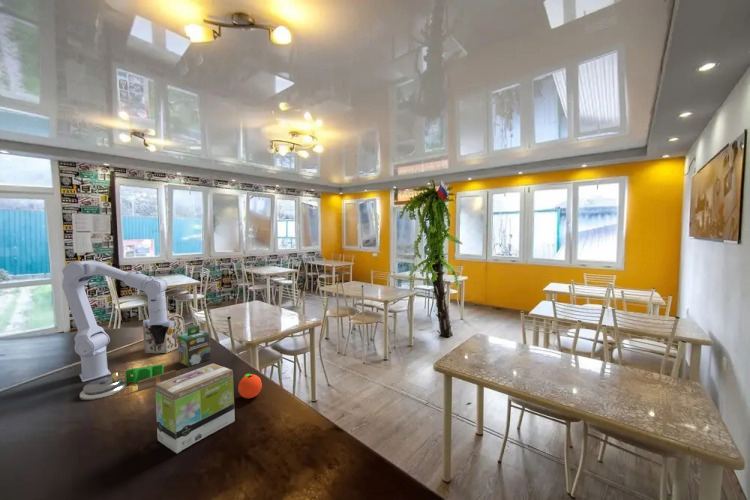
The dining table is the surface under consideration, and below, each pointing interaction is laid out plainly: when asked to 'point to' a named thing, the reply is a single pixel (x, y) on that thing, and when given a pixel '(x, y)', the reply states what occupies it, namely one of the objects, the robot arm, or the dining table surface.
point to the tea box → (194, 406)
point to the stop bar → (155, 380)
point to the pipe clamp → (143, 373)
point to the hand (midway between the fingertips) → (160, 343)
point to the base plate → (104, 394)
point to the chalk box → (194, 347)
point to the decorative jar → (170, 336)
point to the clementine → (249, 386)
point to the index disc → (103, 384)
